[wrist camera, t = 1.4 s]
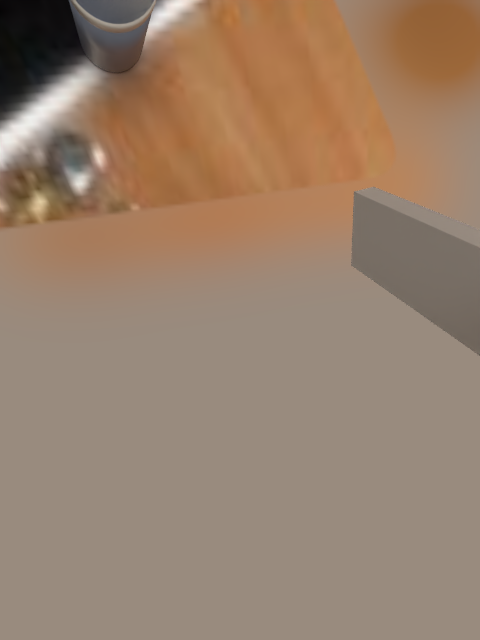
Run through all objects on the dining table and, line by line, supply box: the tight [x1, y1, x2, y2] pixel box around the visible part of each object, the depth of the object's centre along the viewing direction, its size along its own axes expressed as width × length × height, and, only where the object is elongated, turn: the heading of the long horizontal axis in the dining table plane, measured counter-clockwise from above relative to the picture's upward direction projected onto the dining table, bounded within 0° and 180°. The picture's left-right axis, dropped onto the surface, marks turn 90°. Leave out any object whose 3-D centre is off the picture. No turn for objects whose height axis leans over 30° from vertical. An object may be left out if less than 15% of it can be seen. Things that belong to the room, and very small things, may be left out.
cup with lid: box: [69, 0, 156, 72], centre depth 23 cm, size 4×4×12 cm
